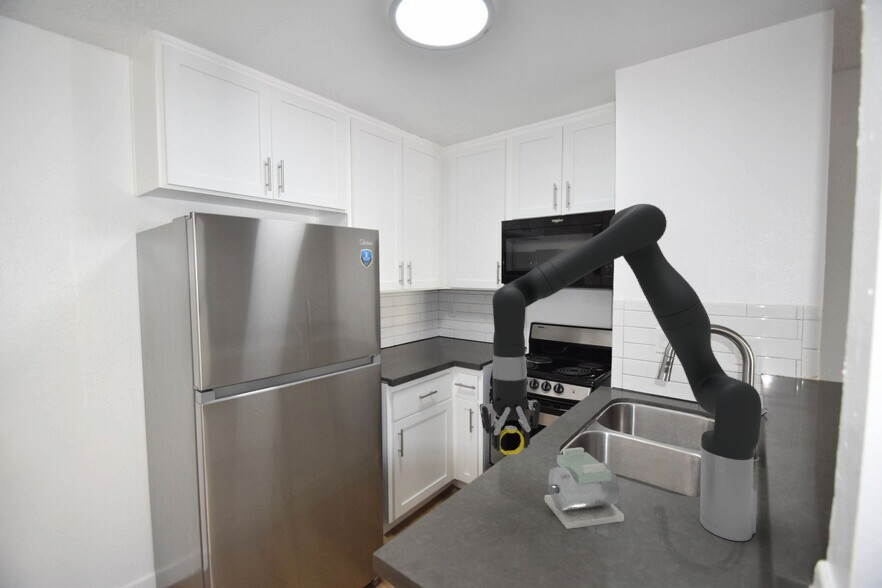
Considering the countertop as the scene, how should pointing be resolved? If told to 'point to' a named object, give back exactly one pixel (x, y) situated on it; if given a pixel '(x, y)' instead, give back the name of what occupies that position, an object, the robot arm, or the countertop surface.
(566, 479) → the motor
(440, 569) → the countertop surface
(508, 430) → the yellow watch
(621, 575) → the countertop surface
